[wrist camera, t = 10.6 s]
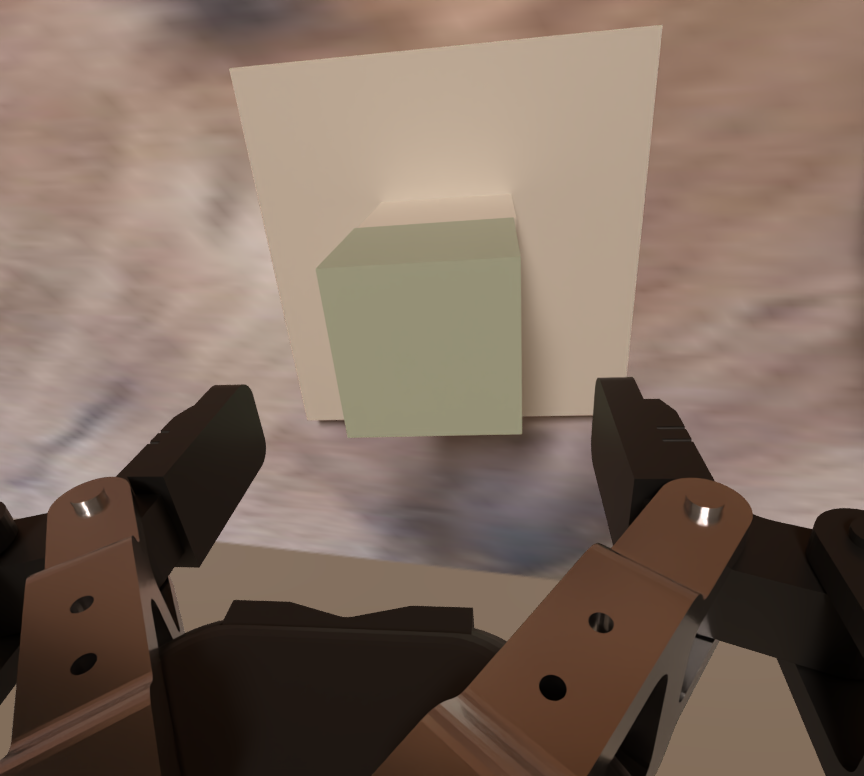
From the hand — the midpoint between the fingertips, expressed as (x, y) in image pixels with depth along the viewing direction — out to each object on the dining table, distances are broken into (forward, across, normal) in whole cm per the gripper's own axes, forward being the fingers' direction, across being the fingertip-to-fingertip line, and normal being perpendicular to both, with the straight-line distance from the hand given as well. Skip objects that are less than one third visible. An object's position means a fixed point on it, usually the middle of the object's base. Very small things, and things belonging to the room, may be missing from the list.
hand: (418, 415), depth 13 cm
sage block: (+8, 0, 0) cm, 8 cm away
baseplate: (+14, 0, 0) cm, 14 cm away
